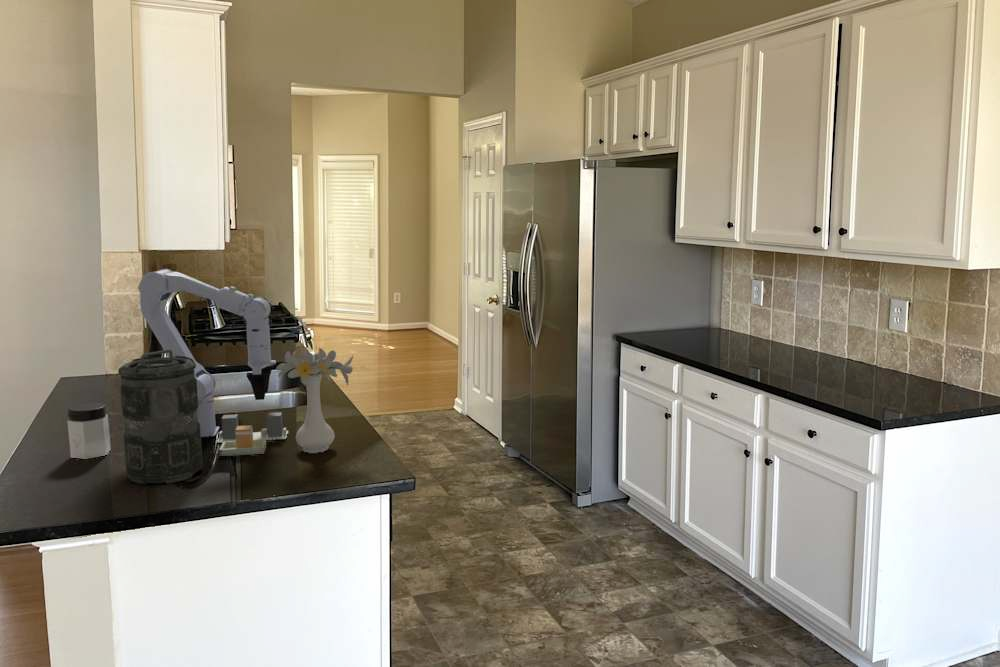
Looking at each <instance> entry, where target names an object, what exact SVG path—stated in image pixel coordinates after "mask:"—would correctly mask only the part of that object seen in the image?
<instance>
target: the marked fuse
mask: <svg viewBox="0 0 1000 667" xmlns="http://www.w3.org/2000/svg"><path fill="white" fill-rule="evenodd" d="M235 435H236V448H251V447H253V425H252V424H251V425H249V424H248V425H239V426H237V428H236V430H235Z"/></svg>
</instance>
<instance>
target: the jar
mask: <svg viewBox="0 0 1000 667" xmlns="http://www.w3.org/2000/svg"><path fill="white" fill-rule="evenodd" d="M67 417H68V420H67V421H66V422H67V429H68V441H69V452H70V459H71V458H81V459H88V458H94V457H99V456H105V455H107V456H108V455H109V453H110V452H111V451H110V450H112V449H111V438H110V437H111V436H110V426H109V414H107V407H106V404H105V403H102V402H86V403H80V404H79V403H78V404H75V405H72V406H69V407H68V408H67ZM109 451H110V452H109ZM105 457H106V456H105Z"/></svg>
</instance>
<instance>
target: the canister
mask: <svg viewBox="0 0 1000 667" xmlns="http://www.w3.org/2000/svg"><path fill="white" fill-rule="evenodd" d="M168 352H169V353H170V357H168V356H163V357H162V356H161V357H160V356H159V357H158V356H157V355H160V354H161V355H162V354H166V353H168ZM155 355H156V356H155ZM195 368H196V363H195V362H194V361H193V359H191V358H189V357H184V356H175V357H173V353H172V351H171V350H164V349H162V350H158V351H151V352H147V353H143V354H142V355H141V356H140V357H139V358H134V359H132V360H131V361H128V362H126V363H125V364H123V365H122V366H120V367H119V368H118V369H117V372H118V374H119V375H120V398H121V411H122V412H121V413H122V416H123V421H124V435H123V447H124V459H125V469H126V475H127V478H128V479H129V480H130V481H131V482H133V483H135V484H138V485H139V484H140V485H145V484H146V485H148V484H163V483H165V484H166V485H168V484H174V483H179V482H181V481H185V480H189V479H191V478H192V477H193V476H194V474H196V473H197V472H199V471H200V470H201V469H202V468H203V450H202V437H201V432H200V423H199V422H198V416H197V408H198V395H197V380H196V378H195V372H194V369H195ZM146 485H145V486H146Z"/></svg>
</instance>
